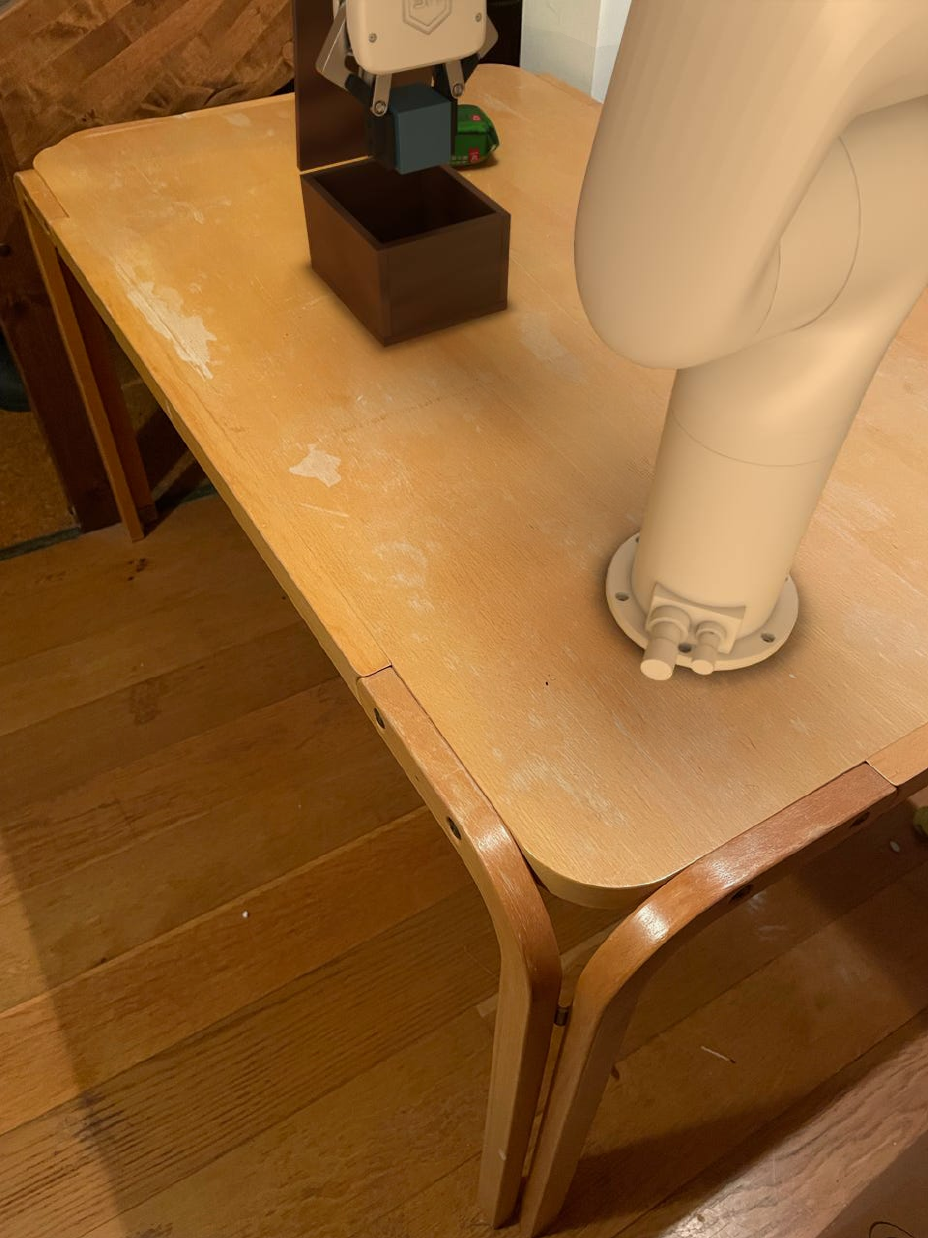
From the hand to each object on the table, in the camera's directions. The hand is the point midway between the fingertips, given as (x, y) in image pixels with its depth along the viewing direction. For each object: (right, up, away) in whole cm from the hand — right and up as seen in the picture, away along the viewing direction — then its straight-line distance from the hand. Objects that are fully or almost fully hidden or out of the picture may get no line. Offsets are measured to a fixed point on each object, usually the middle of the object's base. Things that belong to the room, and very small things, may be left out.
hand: (413, 153), depth 70 cm
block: (0, 0, 0) cm, 0 cm away
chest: (-1, -5, +16) cm, 16 cm away
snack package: (0, +16, +33) cm, 37 cm away
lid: (-4, +10, +5) cm, 12 cm away
